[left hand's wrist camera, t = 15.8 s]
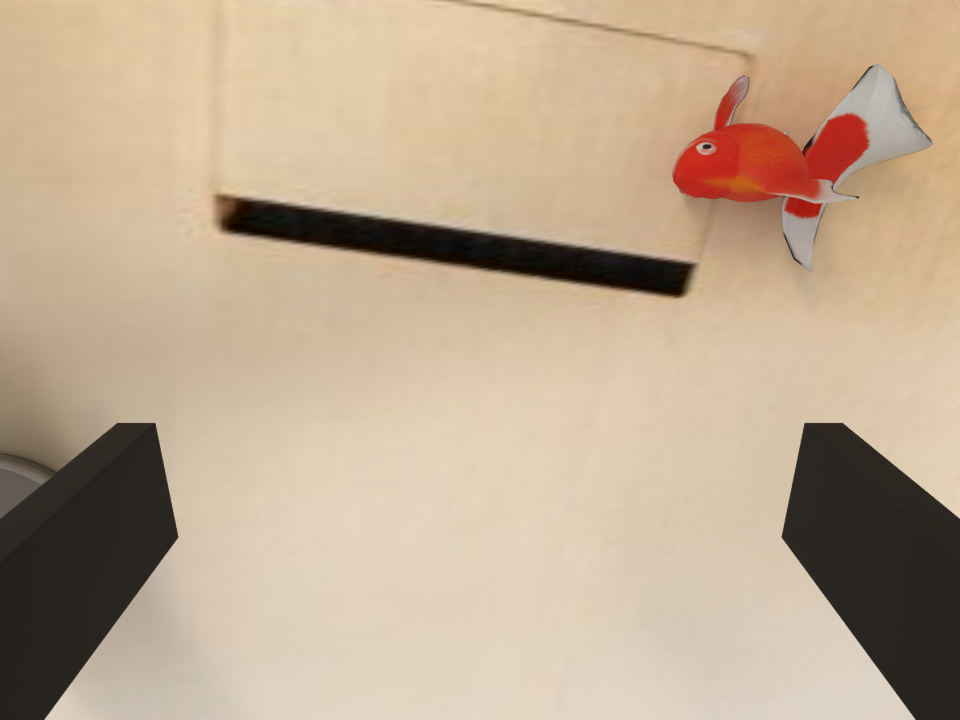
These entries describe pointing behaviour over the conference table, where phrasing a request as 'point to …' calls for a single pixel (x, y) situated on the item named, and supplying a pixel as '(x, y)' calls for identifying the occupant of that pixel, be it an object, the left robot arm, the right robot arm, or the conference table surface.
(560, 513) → the conference table surface
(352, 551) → the conference table surface
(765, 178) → the fish
